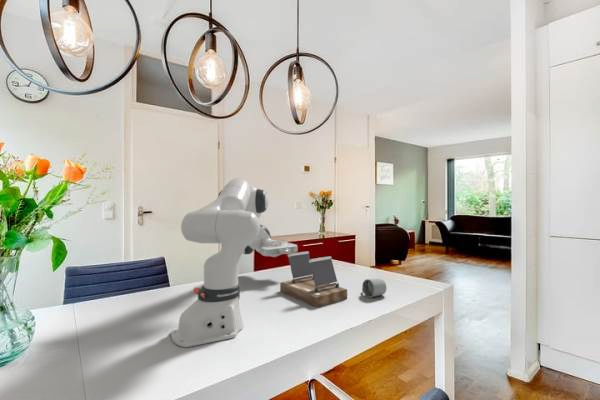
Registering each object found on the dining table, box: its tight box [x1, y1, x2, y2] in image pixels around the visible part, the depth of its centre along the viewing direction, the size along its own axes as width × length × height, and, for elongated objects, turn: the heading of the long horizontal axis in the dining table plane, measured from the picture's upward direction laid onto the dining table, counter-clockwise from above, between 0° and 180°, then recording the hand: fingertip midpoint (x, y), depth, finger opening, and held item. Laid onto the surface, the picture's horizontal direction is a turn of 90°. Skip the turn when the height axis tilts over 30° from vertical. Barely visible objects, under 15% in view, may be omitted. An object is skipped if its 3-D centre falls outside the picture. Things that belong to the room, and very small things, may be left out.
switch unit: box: [279, 275, 348, 308], centre depth 133 cm, size 17×26×6 cm, turn 37°
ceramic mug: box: [361, 278, 387, 299], centre depth 133 cm, size 11×8×8 cm
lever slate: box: [309, 256, 338, 287], centre depth 130 cm, size 11×2×11 cm, turn 127°
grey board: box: [287, 250, 312, 279], centre depth 143 cm, size 11×2×11 cm, turn 127°
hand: (287, 252), depth 151 cm, fingers closed
